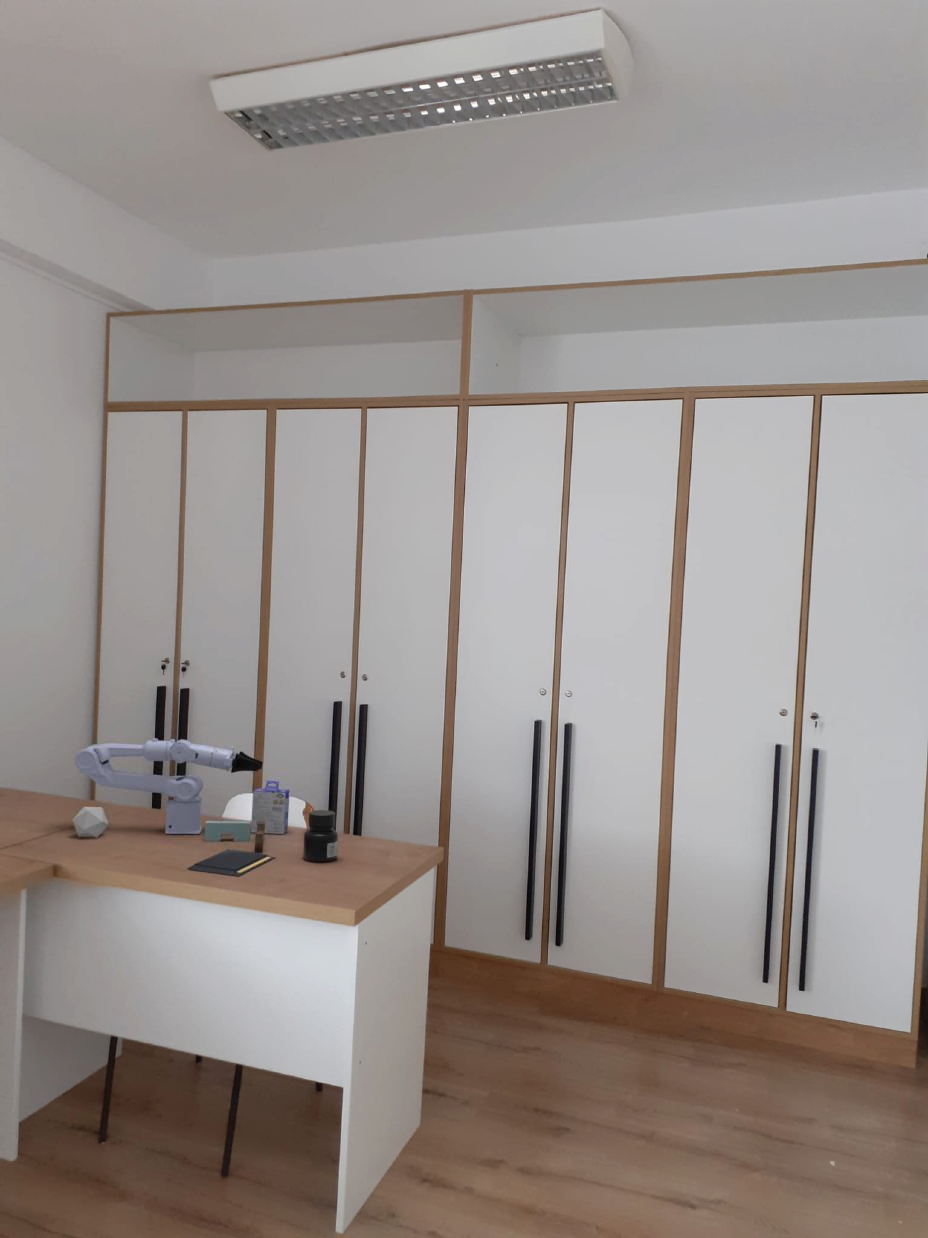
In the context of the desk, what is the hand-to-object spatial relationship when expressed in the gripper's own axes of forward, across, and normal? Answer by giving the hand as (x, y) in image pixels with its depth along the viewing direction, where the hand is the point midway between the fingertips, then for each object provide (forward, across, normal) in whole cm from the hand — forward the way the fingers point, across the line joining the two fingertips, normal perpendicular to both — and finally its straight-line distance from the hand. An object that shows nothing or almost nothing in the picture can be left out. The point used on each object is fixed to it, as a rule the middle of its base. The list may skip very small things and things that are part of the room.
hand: (260, 766), depth 270 cm
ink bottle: (+23, -23, +19) cm, 37 cm away
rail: (+6, -12, +20) cm, 24 cm away
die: (-41, -6, +27) cm, 49 cm away
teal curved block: (-4, -6, +21) cm, 22 cm away
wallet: (+2, -30, +24) cm, 38 cm away
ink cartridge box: (+6, +4, +18) cm, 20 cm away
